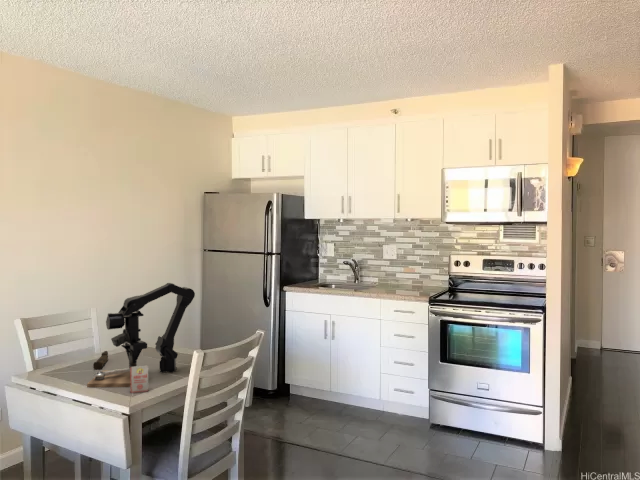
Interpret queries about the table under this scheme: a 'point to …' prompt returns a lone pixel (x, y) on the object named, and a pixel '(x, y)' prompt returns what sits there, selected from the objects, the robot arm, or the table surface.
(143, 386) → the white red carton
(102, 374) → the lever
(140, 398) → the table surface
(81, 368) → the table surface
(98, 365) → the hand tool
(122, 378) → the lever board
